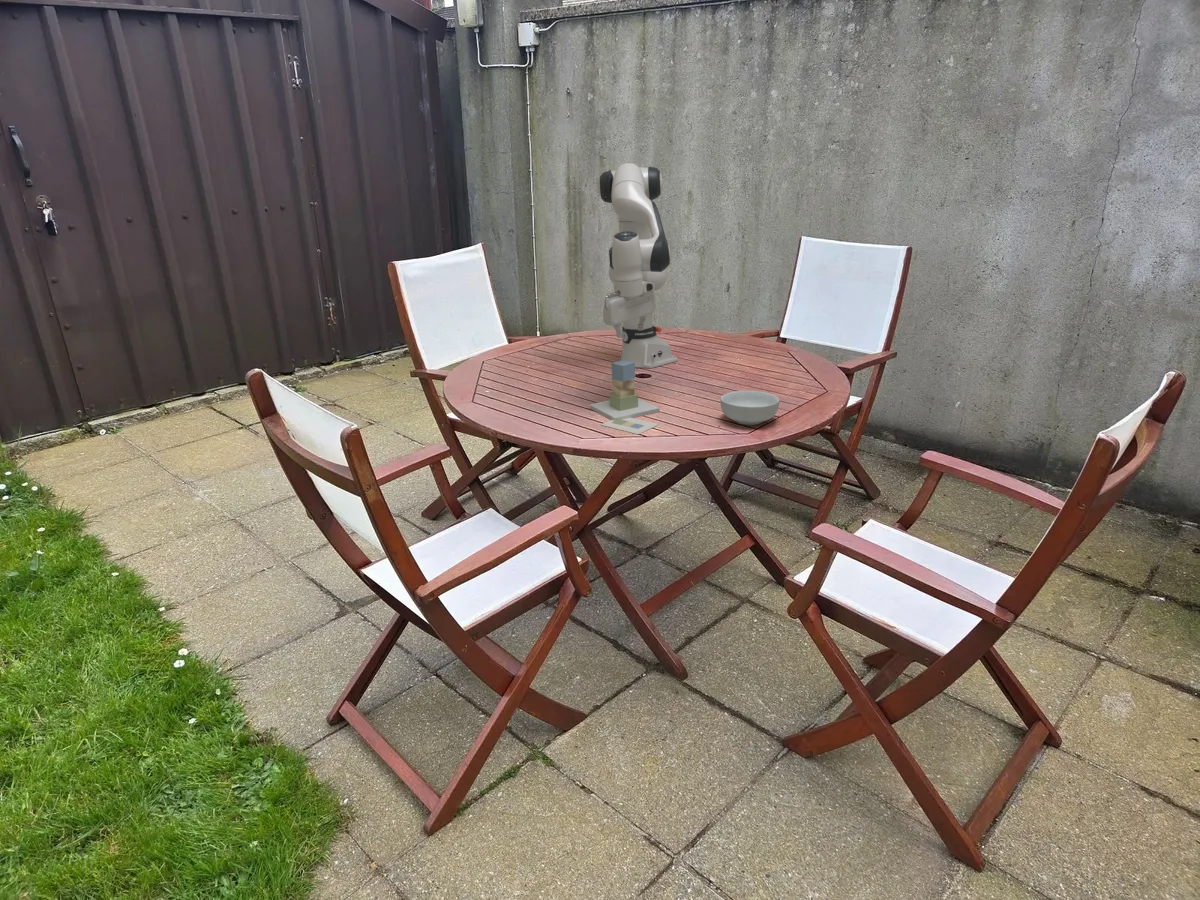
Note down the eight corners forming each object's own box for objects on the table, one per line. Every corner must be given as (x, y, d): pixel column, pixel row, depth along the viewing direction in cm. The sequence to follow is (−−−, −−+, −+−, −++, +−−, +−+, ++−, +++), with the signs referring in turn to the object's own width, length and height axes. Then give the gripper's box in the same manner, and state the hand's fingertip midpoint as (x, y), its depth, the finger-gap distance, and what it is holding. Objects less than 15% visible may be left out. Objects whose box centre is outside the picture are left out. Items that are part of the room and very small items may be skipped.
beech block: (626, 390, 235) (625, 375, 233) (634, 394, 231) (634, 379, 229) (612, 393, 233) (612, 378, 231) (620, 397, 229) (620, 381, 227)
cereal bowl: (788, 418, 221) (790, 396, 218) (759, 434, 210) (760, 410, 207) (739, 408, 232) (740, 386, 229) (708, 422, 220) (709, 399, 218)
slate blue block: (623, 375, 233) (623, 359, 232) (634, 378, 230) (634, 362, 228) (612, 378, 230) (611, 363, 228) (623, 381, 227) (623, 365, 225)
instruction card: (621, 416, 228) (621, 415, 228) (658, 424, 220) (658, 424, 220) (600, 425, 221) (600, 424, 221) (638, 434, 213) (638, 433, 213)
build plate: (632, 399, 244) (631, 383, 242) (659, 411, 231) (659, 395, 229) (589, 408, 237) (588, 392, 235) (615, 421, 224) (614, 405, 222)
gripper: (612, 296, 215) (615, 342, 221) (658, 283, 228) (659, 327, 234) (596, 294, 219) (600, 339, 225) (642, 281, 232) (644, 325, 238)
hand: (630, 333), depth 229 cm, fingers open, 8 cm apart
